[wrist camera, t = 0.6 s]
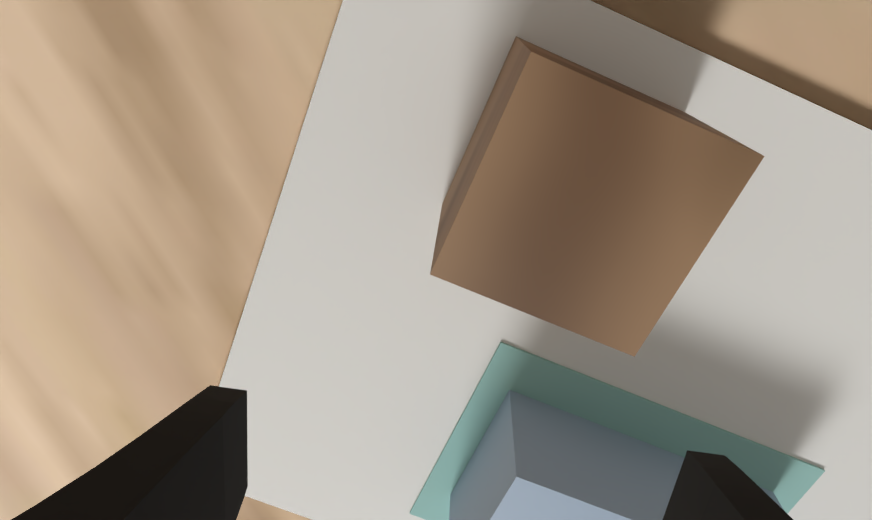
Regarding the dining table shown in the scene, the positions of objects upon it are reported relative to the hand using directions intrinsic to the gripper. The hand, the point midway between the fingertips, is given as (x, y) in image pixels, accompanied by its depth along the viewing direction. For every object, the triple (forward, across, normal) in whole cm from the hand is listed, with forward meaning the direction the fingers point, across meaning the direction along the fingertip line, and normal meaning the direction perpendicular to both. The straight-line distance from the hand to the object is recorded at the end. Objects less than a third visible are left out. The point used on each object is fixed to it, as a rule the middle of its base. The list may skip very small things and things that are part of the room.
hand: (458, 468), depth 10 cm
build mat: (+10, -5, +4) cm, 12 cm away
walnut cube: (+9, -2, -3) cm, 10 cm away
